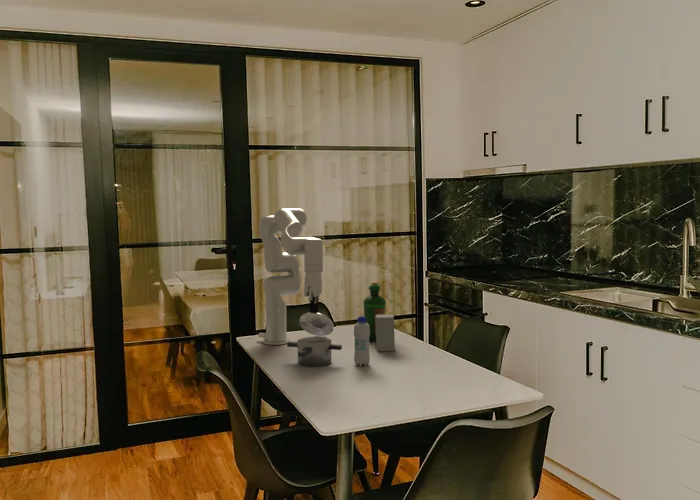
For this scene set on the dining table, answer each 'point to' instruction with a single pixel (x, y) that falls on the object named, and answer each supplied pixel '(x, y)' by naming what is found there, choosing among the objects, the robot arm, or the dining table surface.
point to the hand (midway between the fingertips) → (314, 312)
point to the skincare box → (385, 332)
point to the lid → (316, 324)
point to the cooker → (314, 351)
